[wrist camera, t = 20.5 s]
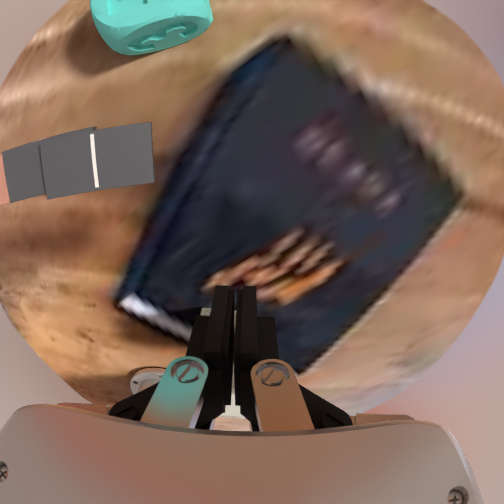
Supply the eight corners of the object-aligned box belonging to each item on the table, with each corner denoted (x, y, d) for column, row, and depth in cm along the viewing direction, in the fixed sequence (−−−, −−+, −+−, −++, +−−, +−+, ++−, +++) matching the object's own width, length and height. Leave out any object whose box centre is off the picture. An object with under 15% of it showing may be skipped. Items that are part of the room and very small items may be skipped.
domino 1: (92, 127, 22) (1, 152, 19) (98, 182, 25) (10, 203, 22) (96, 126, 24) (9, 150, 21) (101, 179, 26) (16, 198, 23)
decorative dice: (123, 0, 18) (85, -26, 10) (200, -28, 17) (182, -67, 10) (136, 61, 21) (95, 47, 14) (218, 33, 20) (202, 4, 13)
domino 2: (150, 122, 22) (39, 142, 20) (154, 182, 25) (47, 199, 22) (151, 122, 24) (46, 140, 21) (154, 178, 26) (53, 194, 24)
